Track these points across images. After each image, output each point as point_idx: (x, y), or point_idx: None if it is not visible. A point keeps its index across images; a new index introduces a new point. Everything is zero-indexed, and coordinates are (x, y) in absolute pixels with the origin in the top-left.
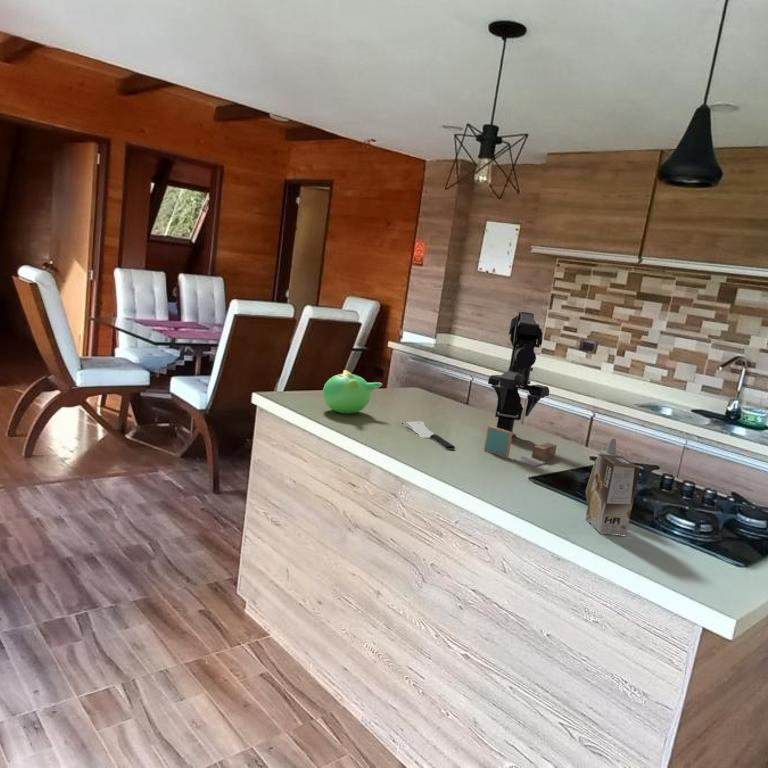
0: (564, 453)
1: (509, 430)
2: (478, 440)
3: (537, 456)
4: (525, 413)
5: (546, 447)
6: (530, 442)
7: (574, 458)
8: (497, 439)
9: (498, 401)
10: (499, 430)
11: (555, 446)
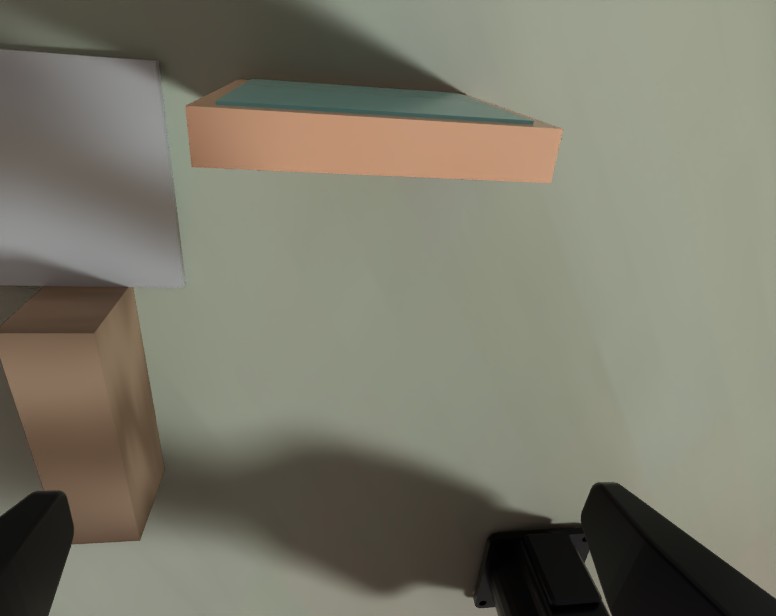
0: (132, 583)
1: (506, 589)
2: (600, 322)
3: (67, 296)
4: (27, 525)
5: (32, 420)
6: (365, 578)
7: None
8: (370, 97)
9: (744, 579)
10: (378, 115)
11: None
